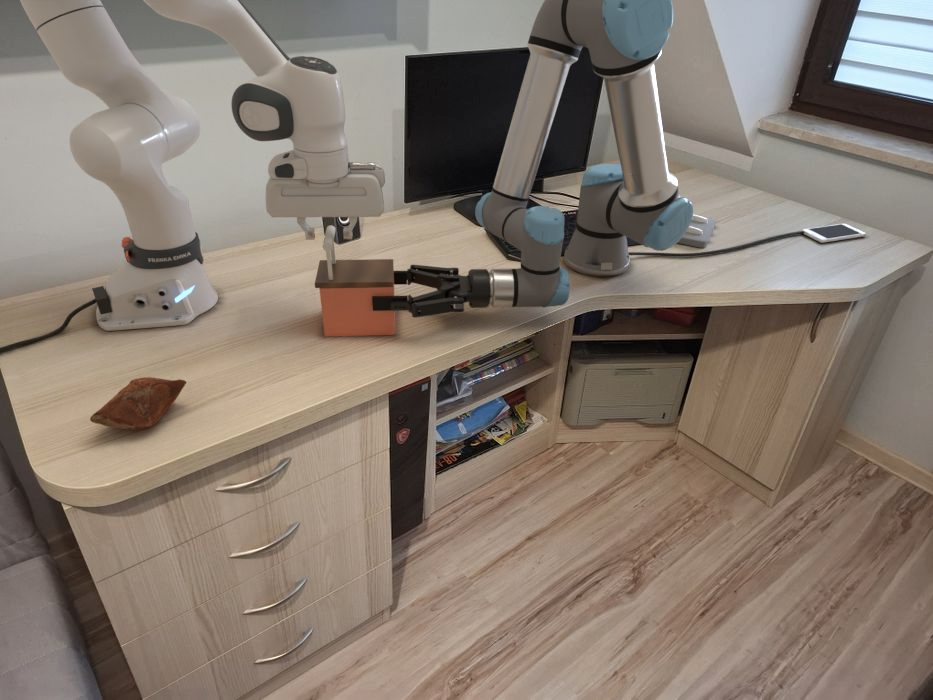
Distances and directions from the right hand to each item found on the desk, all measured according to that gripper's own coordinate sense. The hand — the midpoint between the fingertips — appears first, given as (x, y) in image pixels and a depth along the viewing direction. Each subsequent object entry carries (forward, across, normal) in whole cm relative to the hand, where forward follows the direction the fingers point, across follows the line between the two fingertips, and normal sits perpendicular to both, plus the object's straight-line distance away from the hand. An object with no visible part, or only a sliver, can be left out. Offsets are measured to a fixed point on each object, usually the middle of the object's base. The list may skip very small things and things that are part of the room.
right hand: (373, 290), depth 122 cm
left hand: (+7, 0, +11) cm, 13 cm away
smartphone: (-121, +40, -7) cm, 127 cm away
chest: (+3, 0, -7) cm, 8 cm away
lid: (+3, 0, +3) cm, 4 cm away
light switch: (-80, +44, -7) cm, 91 cm away
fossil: (+35, -28, -7) cm, 45 cm away
